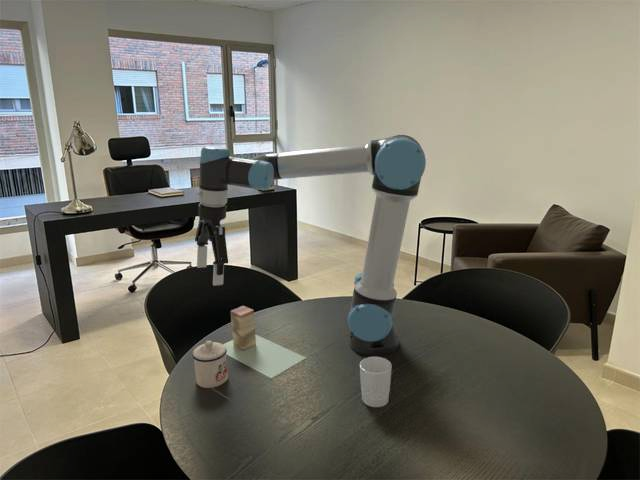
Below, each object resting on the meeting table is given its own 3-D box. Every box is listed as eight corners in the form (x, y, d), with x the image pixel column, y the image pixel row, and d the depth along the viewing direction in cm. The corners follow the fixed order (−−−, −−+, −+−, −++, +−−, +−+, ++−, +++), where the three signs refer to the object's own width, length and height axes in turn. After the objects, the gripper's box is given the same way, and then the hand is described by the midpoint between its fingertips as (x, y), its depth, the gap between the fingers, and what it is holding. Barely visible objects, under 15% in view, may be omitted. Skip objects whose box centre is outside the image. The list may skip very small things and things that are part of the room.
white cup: (370, 413, 112) (371, 376, 109) (353, 395, 119) (353, 361, 116) (397, 403, 116) (398, 367, 113) (379, 387, 122) (379, 353, 120)
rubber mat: (306, 358, 137) (306, 357, 137) (271, 379, 127) (271, 378, 127) (249, 332, 154) (249, 331, 154) (214, 349, 144) (214, 348, 144)
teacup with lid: (222, 390, 123) (218, 351, 119) (190, 388, 124) (185, 349, 121) (237, 366, 134) (234, 329, 131) (207, 364, 136) (203, 328, 132)
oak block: (256, 344, 145) (253, 309, 142) (243, 351, 141) (240, 315, 138) (245, 340, 148) (243, 305, 145) (233, 346, 145) (230, 310, 141)
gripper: (185, 193, 134) (183, 261, 141) (215, 216, 115) (211, 294, 121) (210, 192, 138) (207, 259, 145) (243, 215, 119) (238, 291, 125)
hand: (209, 275), depth 133 cm, fingers open, 13 cm apart
